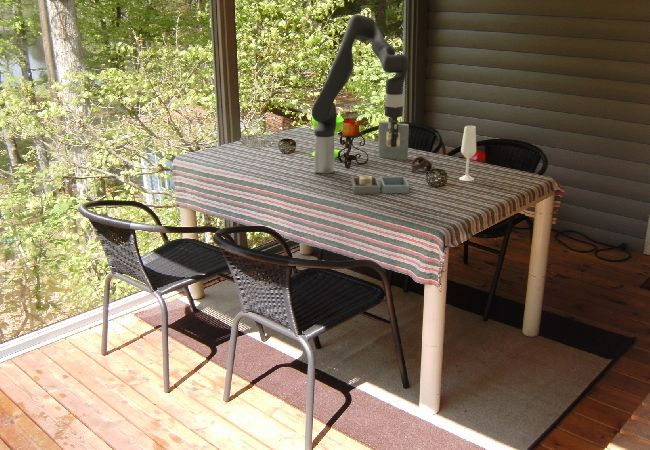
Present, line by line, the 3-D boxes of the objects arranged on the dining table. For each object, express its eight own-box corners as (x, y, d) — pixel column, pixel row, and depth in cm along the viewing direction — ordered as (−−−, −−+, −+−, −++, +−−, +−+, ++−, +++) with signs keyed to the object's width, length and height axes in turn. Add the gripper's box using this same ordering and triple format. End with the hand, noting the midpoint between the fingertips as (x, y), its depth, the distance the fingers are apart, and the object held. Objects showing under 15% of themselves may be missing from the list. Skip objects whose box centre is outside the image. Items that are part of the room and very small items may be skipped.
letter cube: (387, 146, 303) (387, 134, 301) (386, 143, 307) (386, 131, 305) (399, 146, 303) (400, 134, 301) (397, 143, 307) (398, 131, 306)
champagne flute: (464, 175, 337) (468, 124, 329) (477, 178, 333) (480, 126, 324) (456, 178, 333) (459, 126, 324) (468, 181, 328) (472, 129, 320)
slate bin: (383, 194, 311) (383, 186, 310) (379, 184, 324) (379, 176, 323) (409, 194, 312) (409, 186, 310) (404, 184, 325) (404, 176, 324)
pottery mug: (435, 175, 340) (428, 161, 336) (416, 183, 343) (409, 169, 339) (432, 162, 350) (425, 148, 346) (414, 169, 353) (407, 156, 348)
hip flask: (408, 158, 365) (410, 119, 358) (405, 160, 362) (406, 120, 355) (379, 154, 372) (380, 116, 365) (376, 156, 369) (377, 117, 362)
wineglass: (343, 158, 366) (344, 123, 359) (311, 158, 366) (311, 123, 360) (343, 150, 381) (343, 116, 374) (312, 150, 381) (312, 116, 375)
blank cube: (360, 190, 315) (360, 179, 313) (359, 186, 320) (359, 175, 318) (371, 190, 315) (372, 178, 313) (370, 186, 320) (370, 175, 318)
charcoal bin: (354, 194, 311) (354, 186, 310) (351, 185, 324) (351, 177, 323) (379, 194, 311) (380, 186, 310) (376, 184, 324) (376, 176, 323)
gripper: (382, 101, 306) (381, 141, 312) (387, 108, 292) (385, 149, 298) (400, 101, 306) (399, 140, 312) (405, 107, 292) (404, 149, 298)
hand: (392, 144), depth 305 cm, fingers closed on letter cube, 5 cm apart
